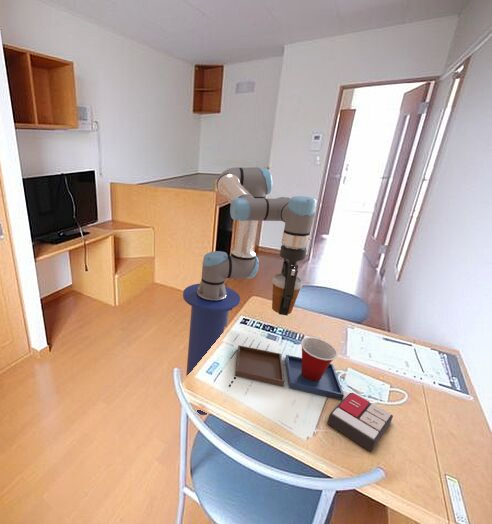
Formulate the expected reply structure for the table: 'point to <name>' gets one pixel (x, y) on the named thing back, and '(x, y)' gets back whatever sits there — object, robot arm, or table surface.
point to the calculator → (360, 420)
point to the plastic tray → (322, 387)
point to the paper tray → (260, 365)
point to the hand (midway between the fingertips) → (281, 308)
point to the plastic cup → (316, 357)
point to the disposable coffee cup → (278, 291)
